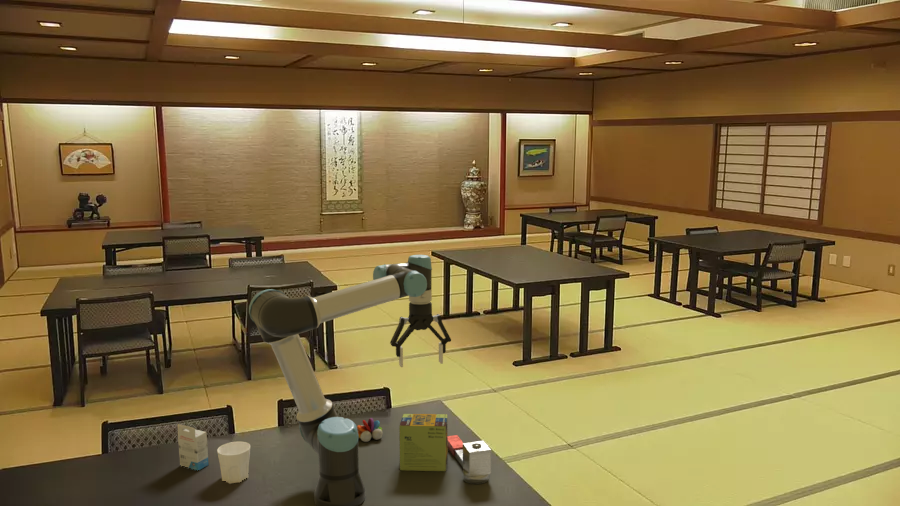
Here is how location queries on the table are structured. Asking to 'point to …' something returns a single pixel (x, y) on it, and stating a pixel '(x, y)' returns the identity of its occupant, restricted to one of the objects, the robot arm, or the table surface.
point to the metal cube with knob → (476, 458)
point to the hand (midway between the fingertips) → (421, 364)
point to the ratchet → (457, 450)
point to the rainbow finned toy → (369, 430)
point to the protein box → (423, 442)
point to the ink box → (192, 447)
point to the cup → (234, 461)
